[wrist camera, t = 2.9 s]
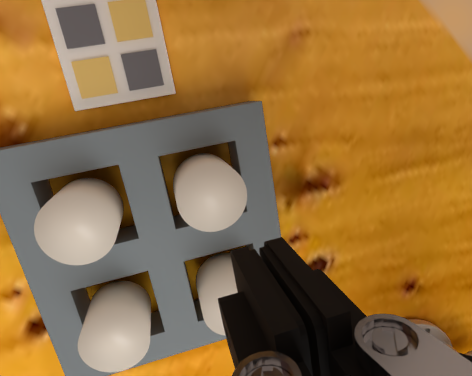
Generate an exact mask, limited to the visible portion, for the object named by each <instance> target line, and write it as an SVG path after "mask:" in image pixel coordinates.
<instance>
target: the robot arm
mask: <svg viewBox="0 0 472 376" xmlns="http://www.w3.org/2000/svg"><path fill="white" fill-rule="evenodd" d="M259 252H260V256H259V254H258V253H257V251H256V250H255V249H253V250H249V248H248V247H247V246H246V247H242V248H239V249H235V250H231V251H230V255H231V261H232V266H233V271H234V276H235V281H236V287H237V292H238V293H234V294H231V295H228V296H224V297H221V298H218V304H219V308H220V313H221V318H222V322H223V327H224V331H225V335H226V339H227V342H228V346H229V349H230V353H231V356H232V359H233V363H234V366H235V370H234V373H233V375H232V376H472V351H469V352H468V353H466V354H462V353H458V352H457V351H456V350H455V349H453V346H452V344H451V341H450V339H449V338H448V336H447V335H446V334H445V333H444V332H443V331H442V330H441V329H440V328H438V327H437V326H436V325H434V324H432V323H431V322H428V321H425V320H419V319H410V320H407V319H405V318H403V317H399V316H396V315H391V314H374V315H371V316H368V317H367V316H366V315H365V314H364V313H363V312H362V311H361V310H360V309H359V308H358V307H357V306H356V305H355V304H354V303H353V302H352V301H351V300H350V299H349V298H348V297H347V296H346V295H345V294H344V293H343V292H342V291H341V290H340V289H339V288H338V287H337V286H336V285H335V284H334V283H333V282H332V281H331V280H330V279H329V278H328V277H327V276H326V275H325V273H324V272H322V271H321V270H319V269H317V270H312V269H311V268H310V267H309V266H308V265H307V264H306V263H305V262H304V261H303V260H302V258H301V257H300V256H299V255H298V254H297V253H296V252H295V251H294V250H293V249H292V248H291V247H290V246H289V244H288V243H287V242H286V241H285V240H284V239H283V238H282V237H280V238H276V239H272V240H269V241H265V242H264V247H260V248H259Z"/></svg>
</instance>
